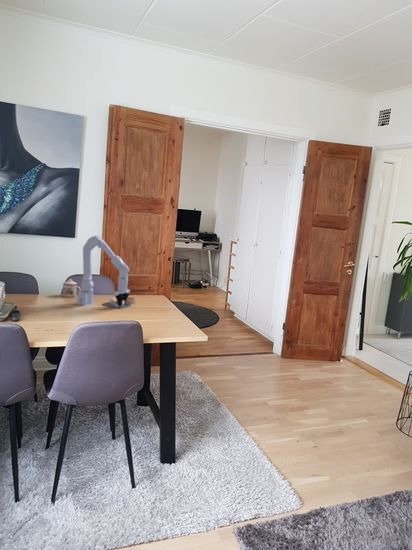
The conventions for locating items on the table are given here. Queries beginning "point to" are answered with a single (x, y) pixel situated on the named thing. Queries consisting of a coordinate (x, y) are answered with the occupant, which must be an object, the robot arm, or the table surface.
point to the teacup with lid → (70, 288)
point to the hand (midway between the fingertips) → (121, 305)
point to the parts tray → (116, 305)
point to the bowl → (131, 300)
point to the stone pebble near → (112, 301)
